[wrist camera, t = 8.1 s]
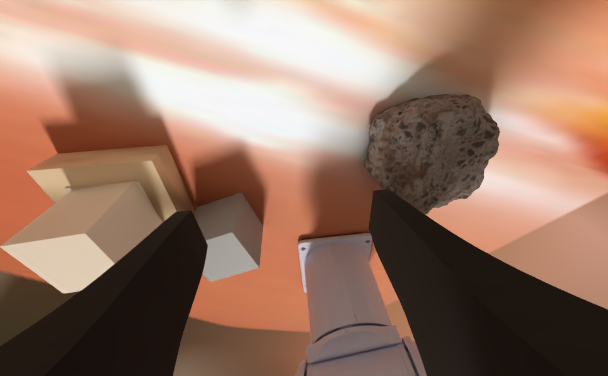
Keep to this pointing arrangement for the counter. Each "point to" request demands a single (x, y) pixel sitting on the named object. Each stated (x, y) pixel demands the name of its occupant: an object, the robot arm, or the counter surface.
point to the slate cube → (230, 236)
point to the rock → (432, 149)
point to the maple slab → (117, 175)
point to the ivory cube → (84, 234)
